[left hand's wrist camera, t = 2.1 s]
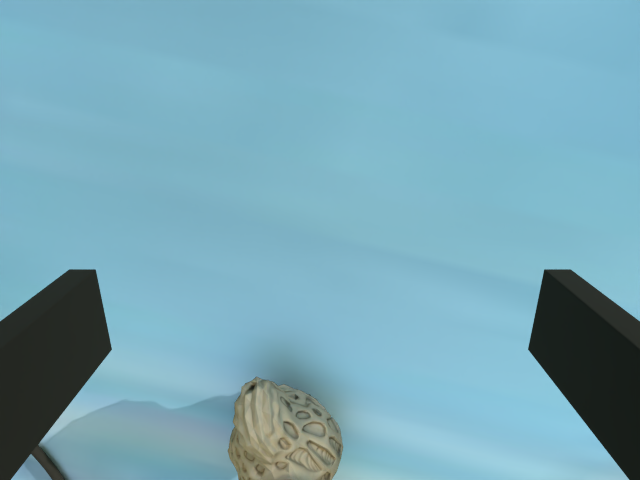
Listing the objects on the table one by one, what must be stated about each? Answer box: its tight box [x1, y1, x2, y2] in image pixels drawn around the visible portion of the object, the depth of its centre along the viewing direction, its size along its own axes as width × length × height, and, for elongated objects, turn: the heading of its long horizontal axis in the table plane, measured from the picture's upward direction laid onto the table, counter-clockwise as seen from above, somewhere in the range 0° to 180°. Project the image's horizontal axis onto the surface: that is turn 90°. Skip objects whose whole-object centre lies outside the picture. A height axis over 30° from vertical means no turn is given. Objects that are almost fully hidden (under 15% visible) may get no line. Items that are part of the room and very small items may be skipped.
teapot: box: [228, 377, 343, 480], centre depth 42 cm, size 21×12×15 cm, turn 13°
